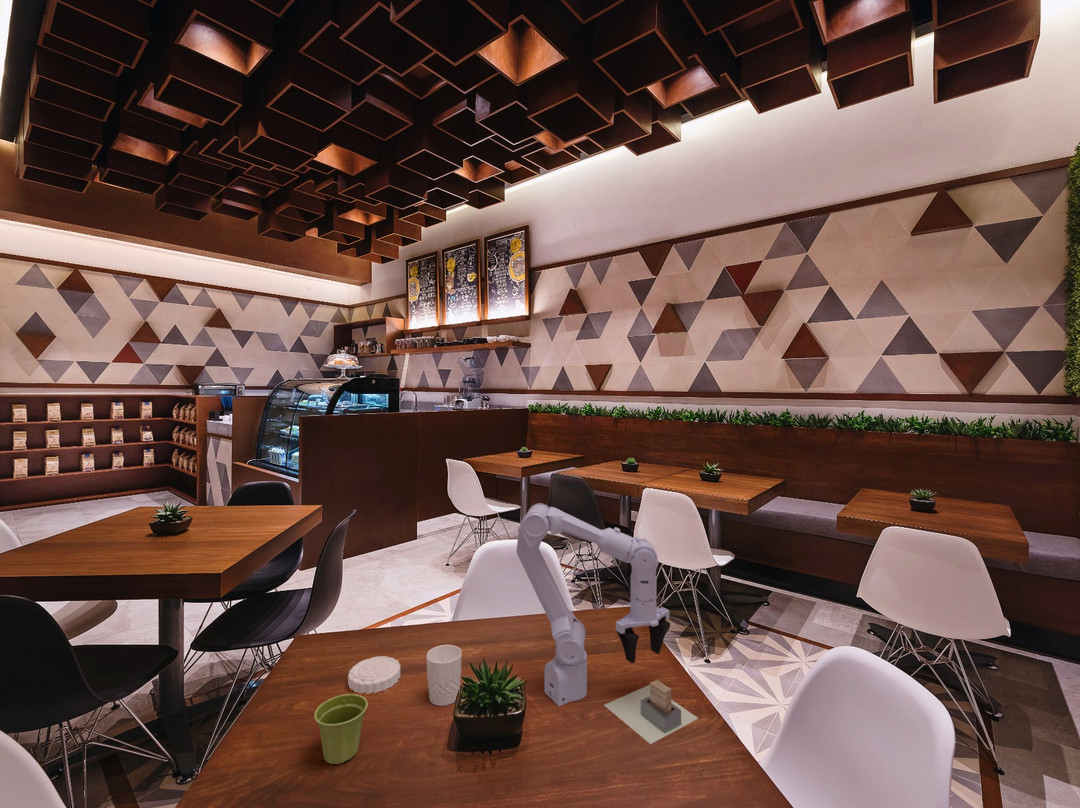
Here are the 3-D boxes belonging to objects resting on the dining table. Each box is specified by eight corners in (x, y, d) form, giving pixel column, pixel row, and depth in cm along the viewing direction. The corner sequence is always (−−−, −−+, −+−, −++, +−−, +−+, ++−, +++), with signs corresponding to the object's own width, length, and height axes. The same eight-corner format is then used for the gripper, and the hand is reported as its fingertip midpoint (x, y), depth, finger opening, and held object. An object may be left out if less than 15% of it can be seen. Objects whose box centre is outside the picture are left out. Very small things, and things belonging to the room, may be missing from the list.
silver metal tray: (664, 733, 95) (664, 718, 95) (640, 714, 100) (640, 700, 100) (681, 724, 97) (681, 710, 97) (656, 706, 103) (656, 692, 103)
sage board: (650, 749, 92) (650, 744, 92) (603, 709, 103) (603, 705, 103) (698, 723, 99) (698, 718, 99) (649, 688, 111) (649, 684, 111)
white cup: (423, 691, 110) (423, 648, 110) (457, 683, 113) (457, 641, 113) (430, 711, 103) (430, 666, 103) (465, 702, 106) (465, 658, 106)
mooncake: (348, 702, 106) (348, 686, 106) (347, 674, 117) (347, 660, 117) (403, 689, 111) (403, 674, 111) (397, 663, 122) (397, 650, 122)
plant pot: (328, 735, 95) (328, 692, 95) (374, 736, 95) (374, 693, 95) (304, 771, 86) (304, 724, 86) (355, 773, 86) (355, 725, 86)
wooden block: (664, 726, 97) (664, 692, 97) (650, 715, 100) (650, 682, 100) (671, 723, 98) (671, 689, 98) (656, 712, 101) (656, 679, 101)
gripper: (631, 610, 99) (630, 674, 99) (679, 595, 107) (679, 655, 107) (609, 598, 105) (609, 658, 105) (656, 585, 113) (656, 642, 113)
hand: (643, 656), depth 106 cm, fingers open, 7 cm apart
